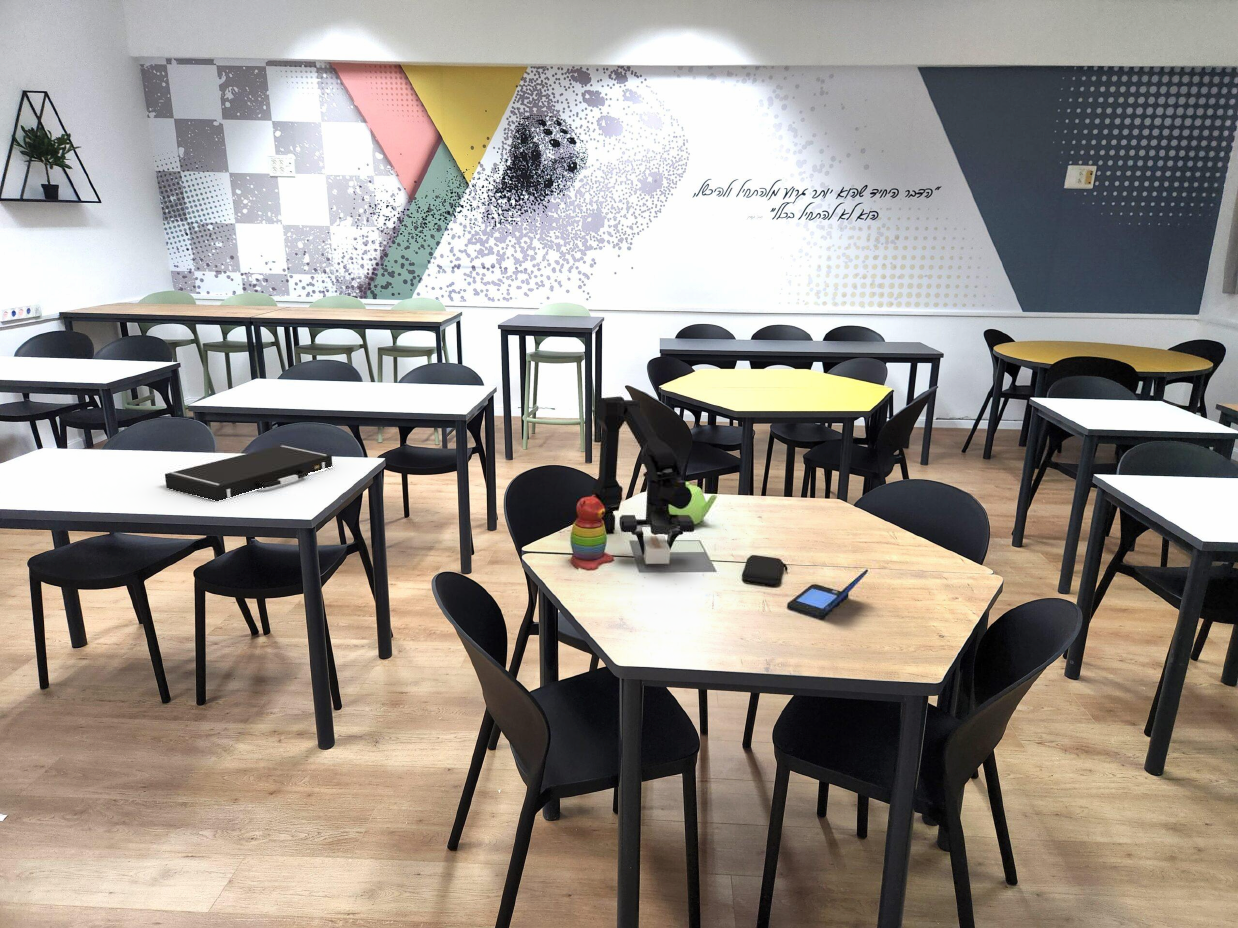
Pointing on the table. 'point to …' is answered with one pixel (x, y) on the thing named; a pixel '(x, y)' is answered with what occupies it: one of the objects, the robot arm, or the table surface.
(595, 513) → the stacking bear
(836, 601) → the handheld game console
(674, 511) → the teapot
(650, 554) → the box
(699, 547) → the mat
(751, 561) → the carrying case or bag
